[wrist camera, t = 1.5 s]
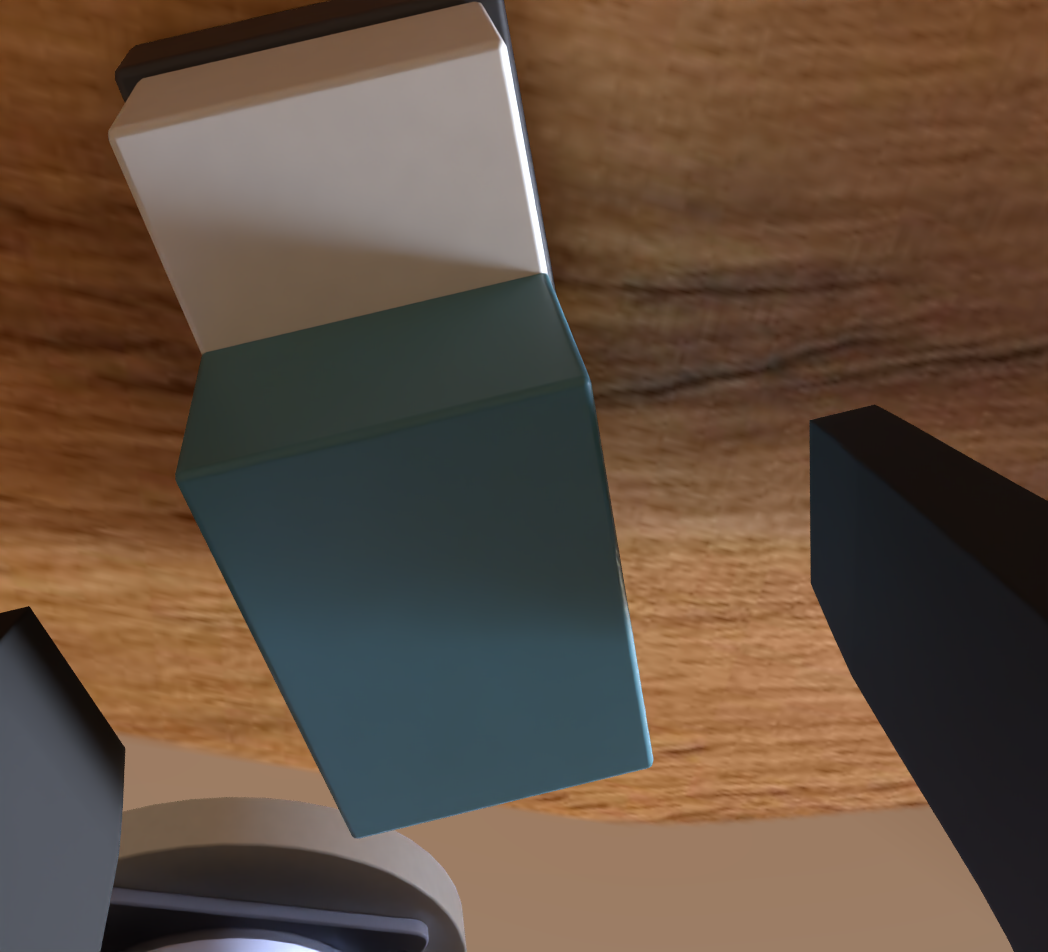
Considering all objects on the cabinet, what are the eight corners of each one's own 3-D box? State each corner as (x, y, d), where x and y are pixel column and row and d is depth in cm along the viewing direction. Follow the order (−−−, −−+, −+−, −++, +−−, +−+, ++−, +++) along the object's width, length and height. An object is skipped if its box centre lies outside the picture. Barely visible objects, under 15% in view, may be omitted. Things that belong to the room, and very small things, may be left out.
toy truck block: (587, 508, 14) (675, 770, 10) (337, 567, 14) (336, 853, 10) (487, -38, 10) (575, 83, 6) (128, 46, 10) (5, 217, 6)
